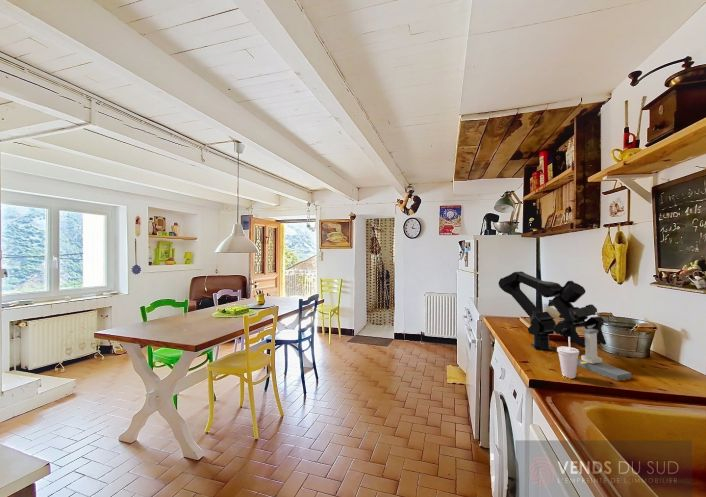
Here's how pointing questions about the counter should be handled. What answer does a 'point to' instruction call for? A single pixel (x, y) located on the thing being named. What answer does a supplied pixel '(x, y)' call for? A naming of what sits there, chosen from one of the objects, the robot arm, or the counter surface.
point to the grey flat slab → (605, 370)
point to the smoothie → (568, 360)
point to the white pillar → (591, 346)
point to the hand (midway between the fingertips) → (594, 345)
